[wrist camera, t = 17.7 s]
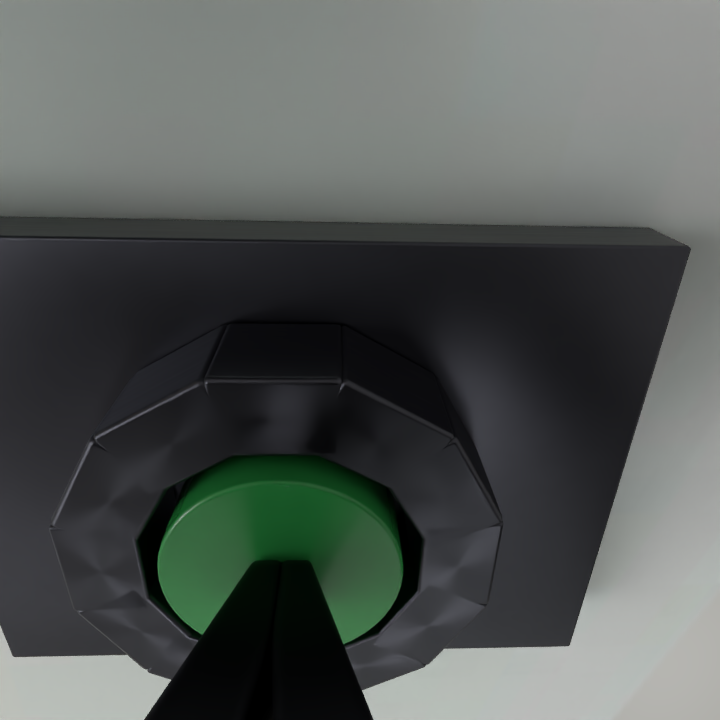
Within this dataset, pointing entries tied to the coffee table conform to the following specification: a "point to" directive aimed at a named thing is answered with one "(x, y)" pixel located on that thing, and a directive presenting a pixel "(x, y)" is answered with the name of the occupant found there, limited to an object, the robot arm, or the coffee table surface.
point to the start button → (283, 537)
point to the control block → (320, 411)
